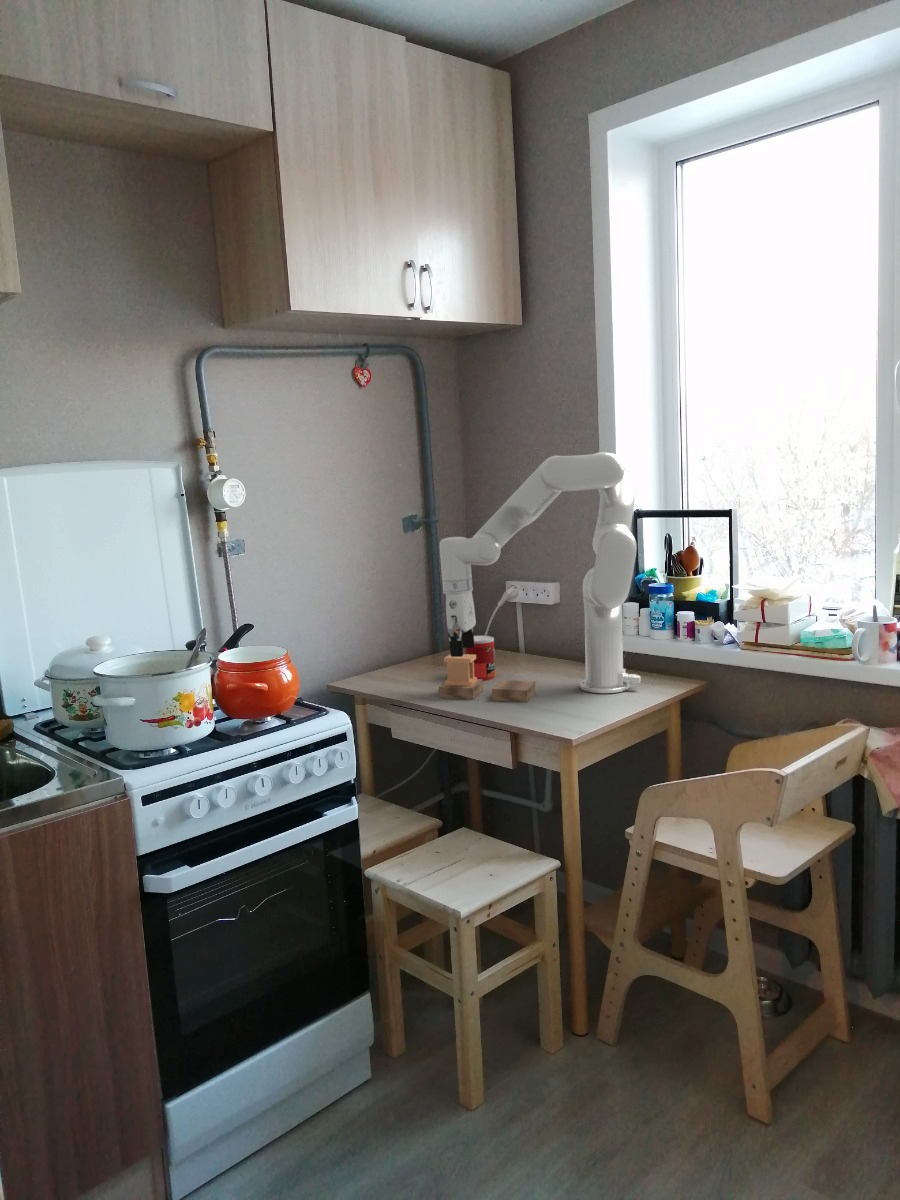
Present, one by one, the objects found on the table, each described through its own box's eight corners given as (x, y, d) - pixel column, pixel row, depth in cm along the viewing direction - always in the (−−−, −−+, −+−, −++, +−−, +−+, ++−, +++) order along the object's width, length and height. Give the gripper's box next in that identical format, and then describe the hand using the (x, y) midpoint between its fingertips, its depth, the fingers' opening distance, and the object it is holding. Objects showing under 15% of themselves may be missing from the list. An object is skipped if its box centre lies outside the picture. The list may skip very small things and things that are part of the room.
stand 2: (535, 692, 243) (535, 681, 242) (527, 702, 235) (526, 690, 234) (501, 691, 246) (501, 680, 245) (492, 700, 237) (491, 688, 237)
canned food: (493, 681, 257) (491, 641, 255) (464, 680, 258) (462, 641, 257) (497, 674, 264) (496, 635, 262) (469, 673, 266) (467, 635, 264)
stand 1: (483, 690, 247) (482, 679, 247) (473, 699, 239) (472, 688, 238) (450, 689, 250) (449, 678, 250) (439, 698, 242) (438, 686, 241)
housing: (477, 681, 245) (476, 654, 244) (471, 685, 241) (470, 658, 240) (451, 680, 247) (450, 653, 246) (445, 684, 243) (444, 658, 242)
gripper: (461, 591, 231) (466, 660, 233) (481, 580, 247) (486, 644, 250) (432, 592, 233) (438, 660, 236) (453, 581, 249) (459, 644, 252)
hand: (462, 651), depth 243 cm, fingers open, 9 cm apart
